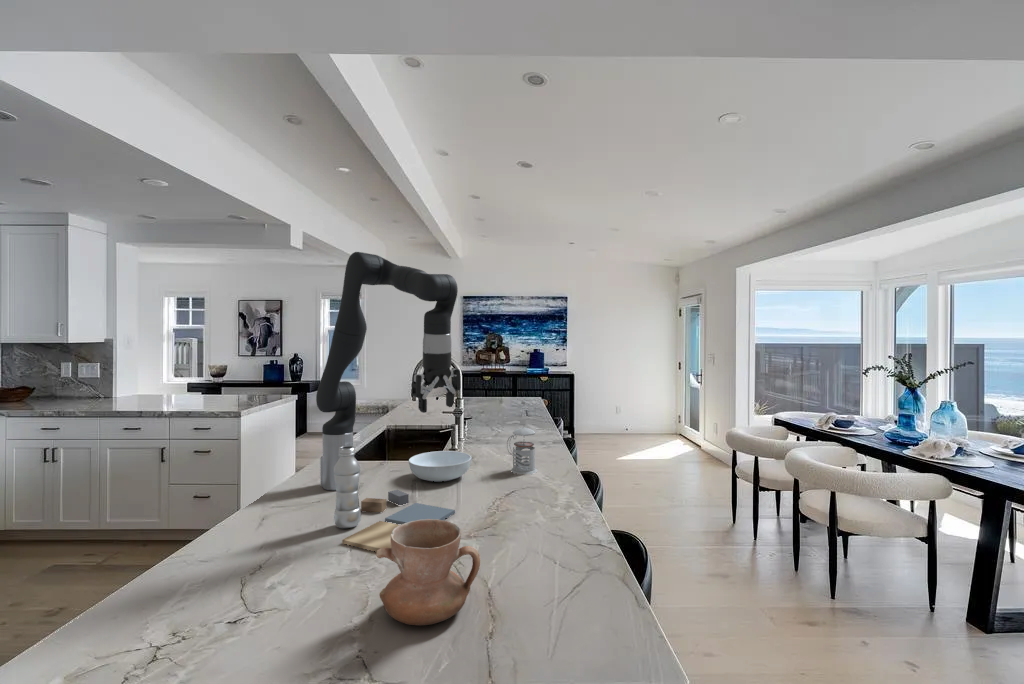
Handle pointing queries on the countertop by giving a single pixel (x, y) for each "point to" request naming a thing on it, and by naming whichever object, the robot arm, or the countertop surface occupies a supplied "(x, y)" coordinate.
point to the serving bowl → (440, 465)
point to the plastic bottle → (347, 489)
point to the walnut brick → (373, 505)
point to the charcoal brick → (398, 497)
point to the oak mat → (372, 536)
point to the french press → (523, 452)
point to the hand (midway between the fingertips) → (436, 409)
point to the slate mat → (419, 513)
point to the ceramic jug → (426, 572)
